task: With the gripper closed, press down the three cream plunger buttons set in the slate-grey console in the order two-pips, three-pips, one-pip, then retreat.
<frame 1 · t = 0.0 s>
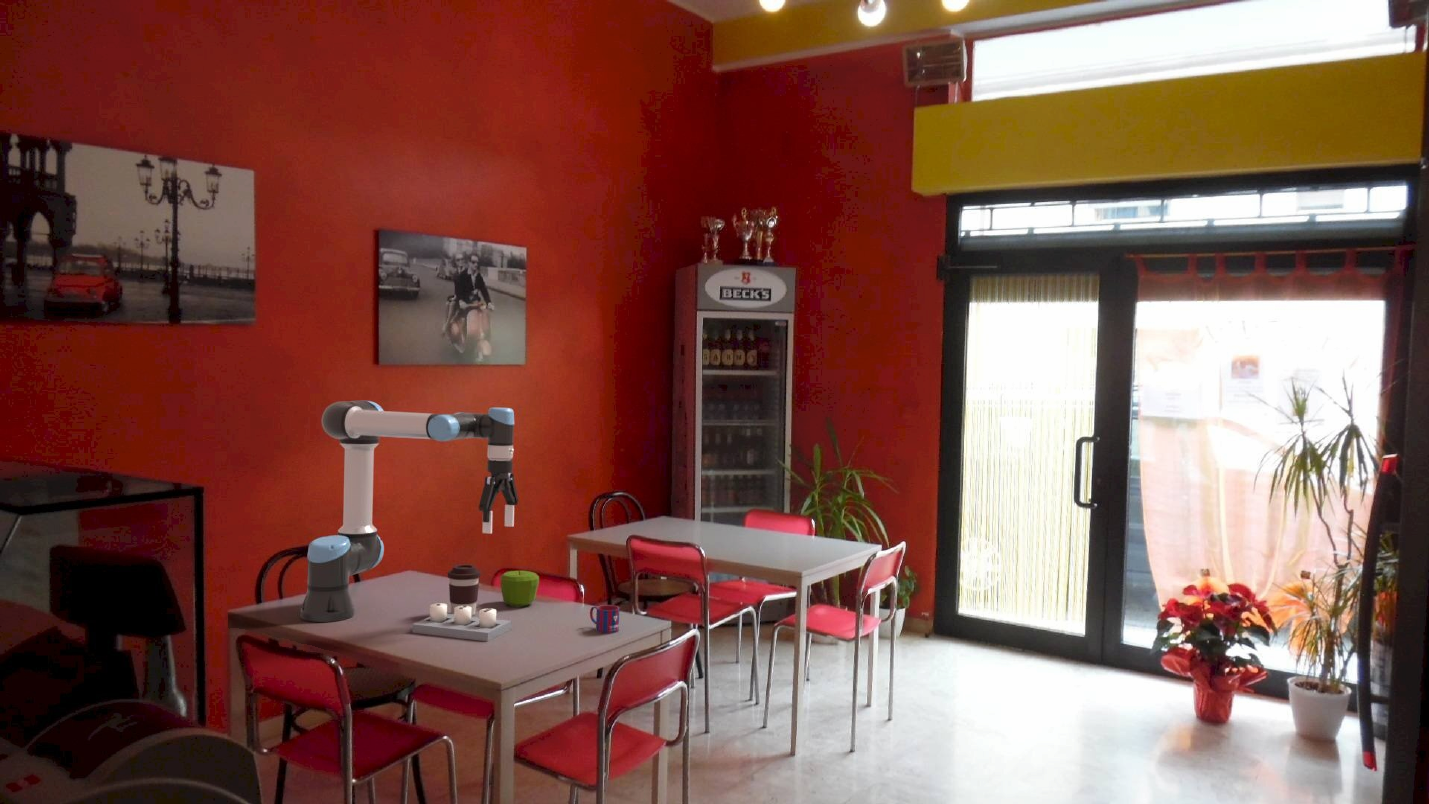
hand: (498, 529, 294), 28 cm above the table, fingers open, 13 cm apart
button 1: (438, 612, 286), point 5 cm above the table, slide at 0.0 cm
button 3: (487, 617, 282), point 5 cm above the table, slide at 0.0 cm
console: (462, 630, 284), on the table
coffee cup: (463, 615, 302), on the table
button 2: (462, 614, 284), point 5 cm above the table, slide at 0.0 cm
cup: (603, 630, 291), on the table
apple: (519, 605, 317), on the table
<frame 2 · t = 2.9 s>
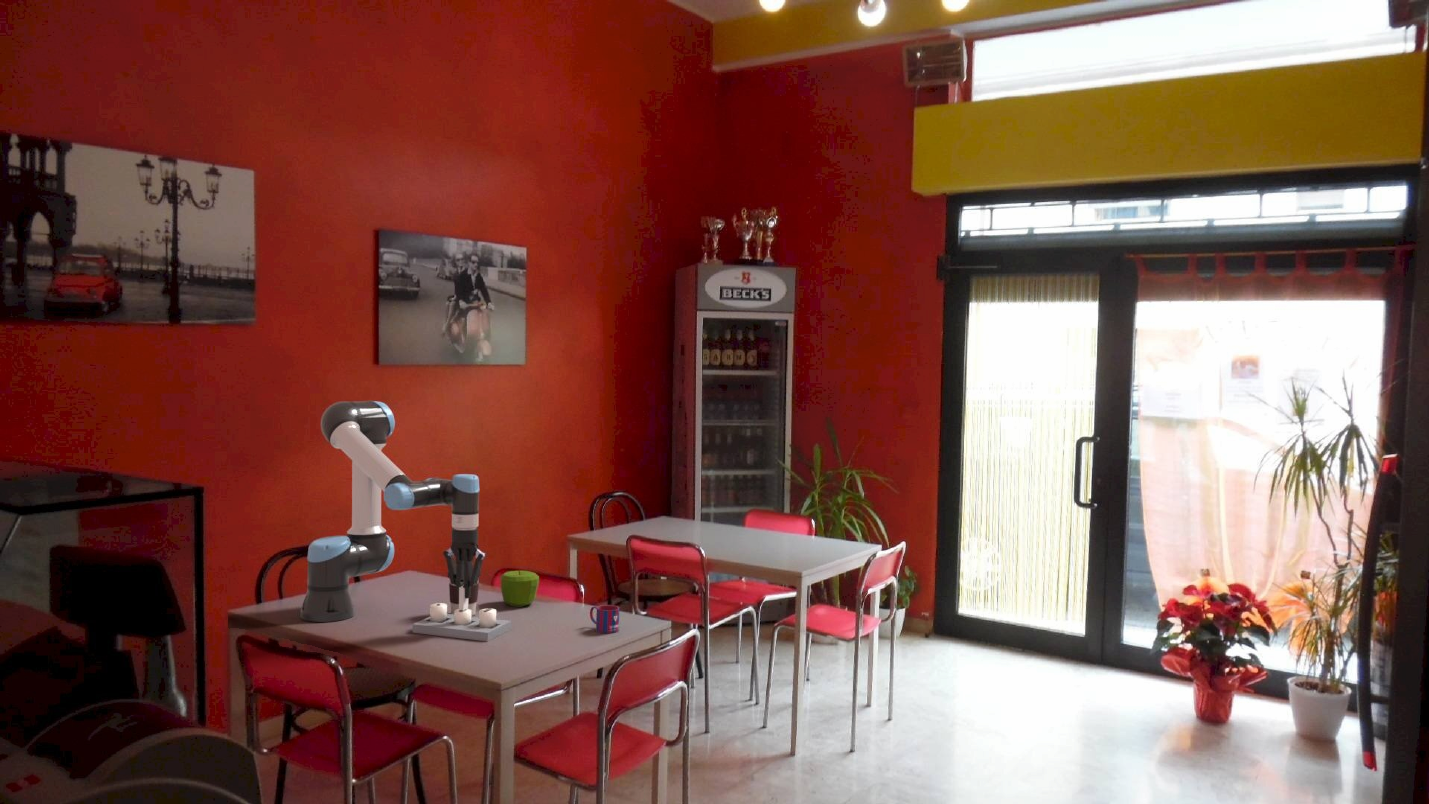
hand: (463, 608, 283), 6 cm above the table, fingers closed
button 2: (462, 617, 284), point 4 cm above the table, slide at 0.8 cm, touching gripper
everything else where it was.
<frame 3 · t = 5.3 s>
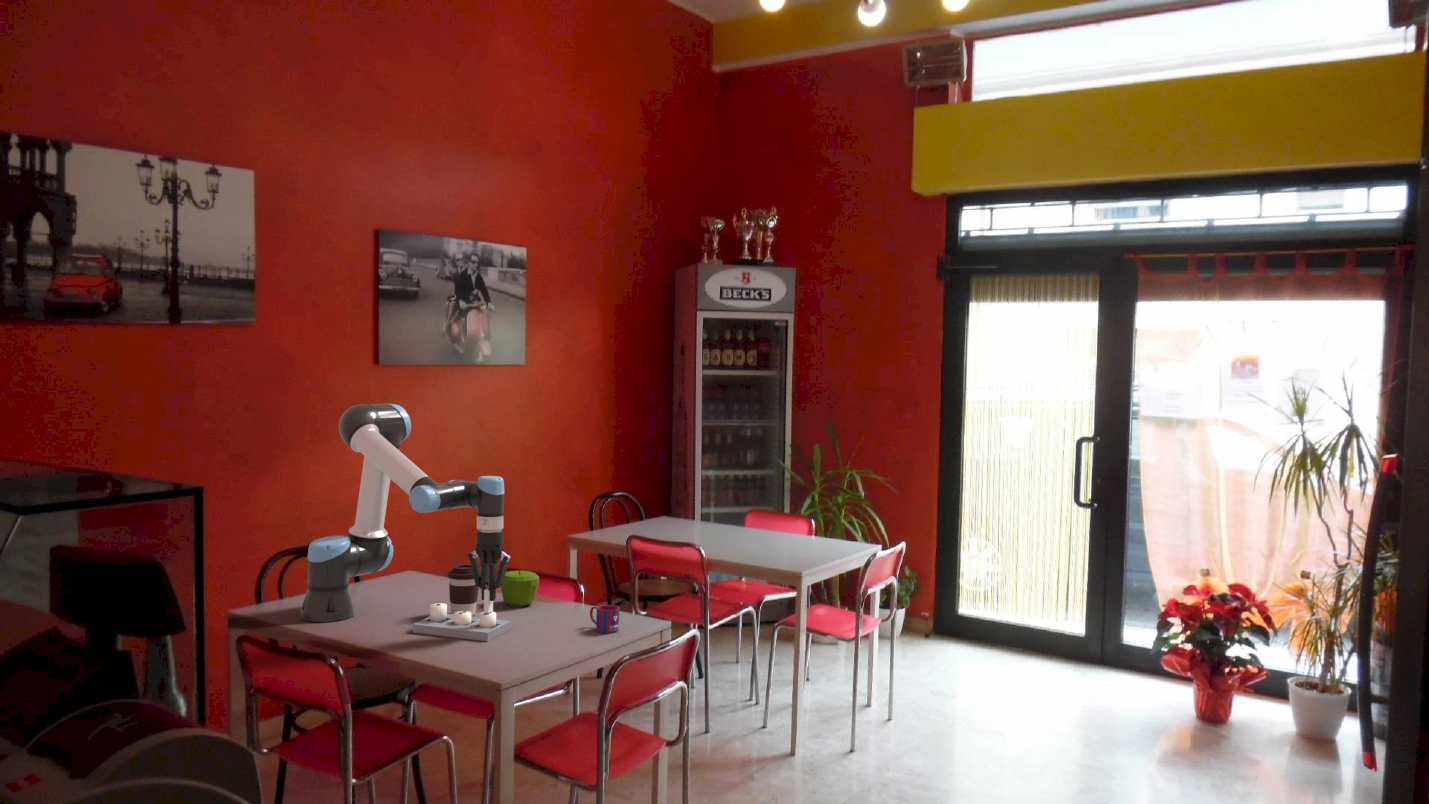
hand: (488, 611, 281), 6 cm above the table, fingers closed
button 3: (487, 620, 282), point 4 cm above the table, slide at 0.9 cm, touching gripper
button 2: (462, 620, 284), point 3 cm above the table, slide at 1.5 cm
everything else where it was.
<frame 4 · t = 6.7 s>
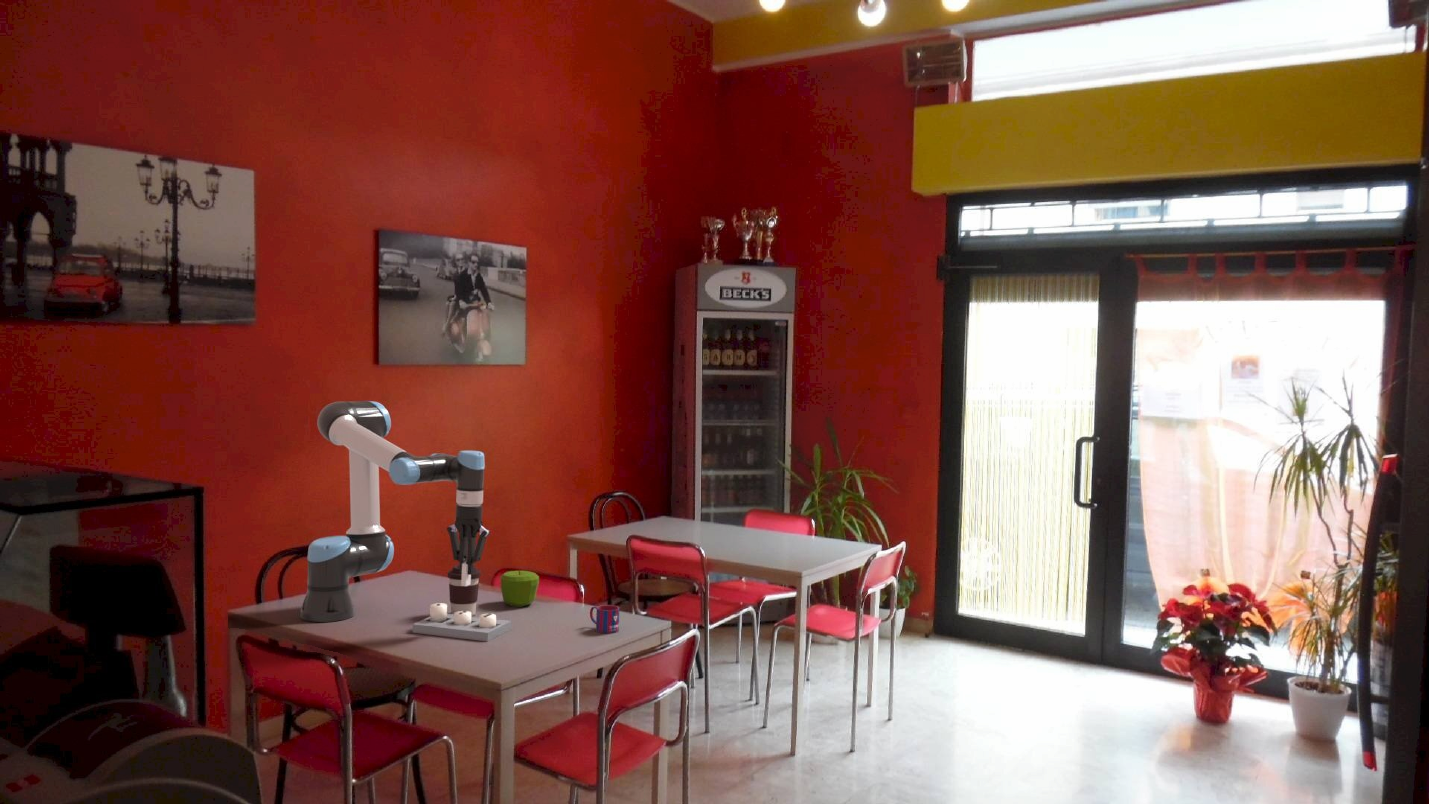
hand: (465, 585, 283), 13 cm above the table, fingers closed
button 3: (487, 622, 282), point 3 cm above the table, slide at 1.5 cm
everything else where it was.
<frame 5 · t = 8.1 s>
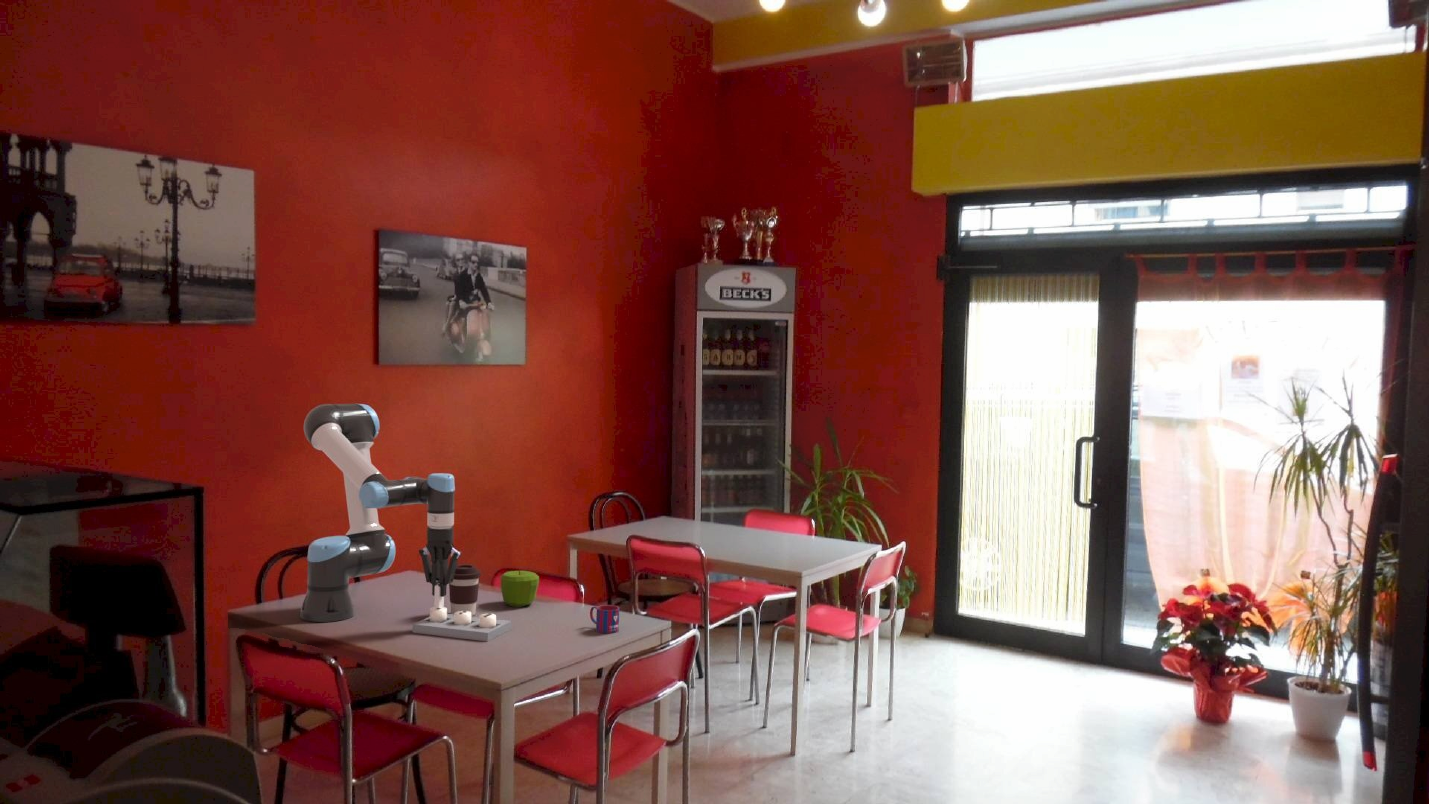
hand: (439, 607, 286), 6 cm above the table, fingers closed
button 1: (438, 615, 286), point 4 cm above the table, slide at 1.1 cm, touching gripper
everything else where it was.
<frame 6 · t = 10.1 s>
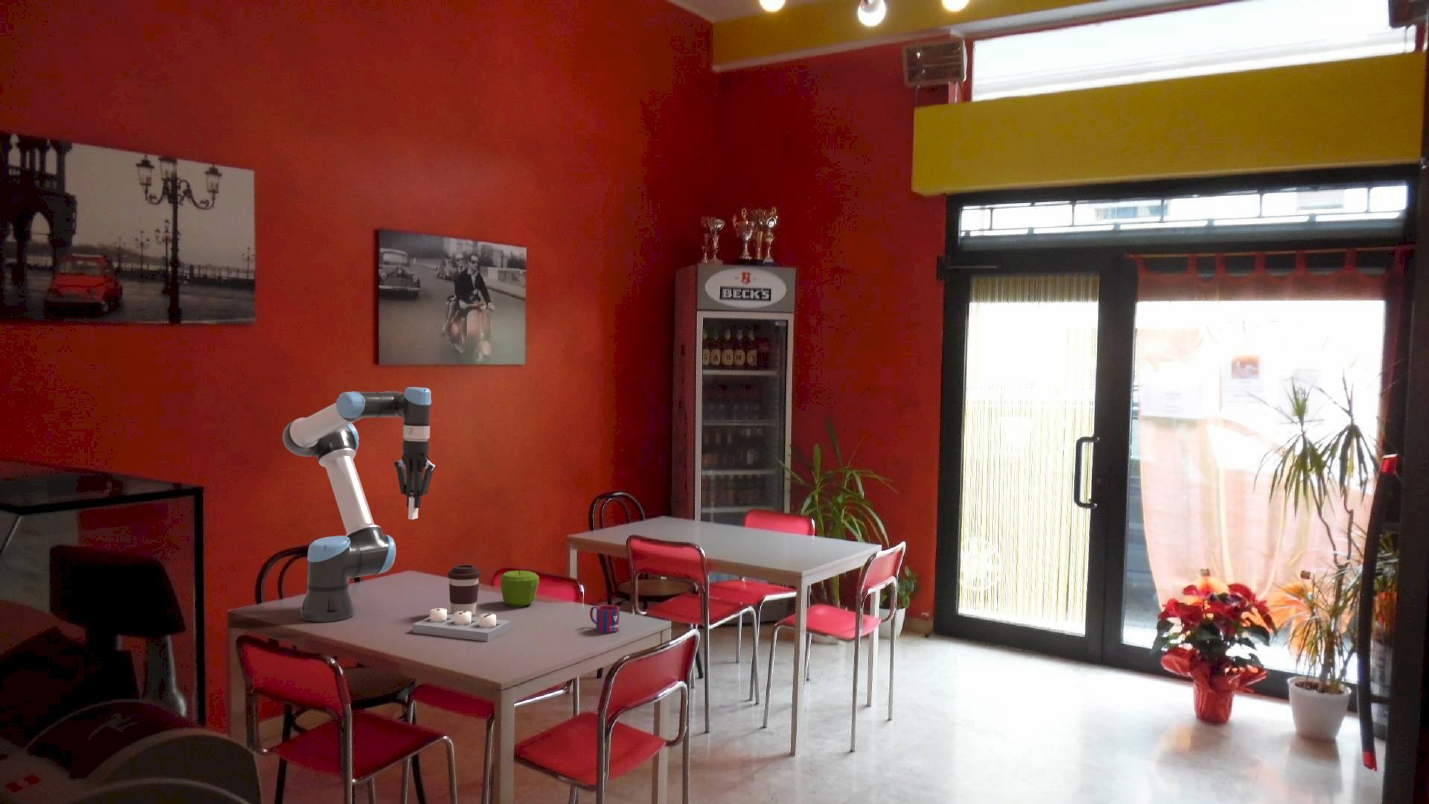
hand: (413, 518, 290), 31 cm above the table, fingers closed
button 1: (438, 617, 286), point 3 cm above the table, slide at 1.5 cm
everything else where it was.
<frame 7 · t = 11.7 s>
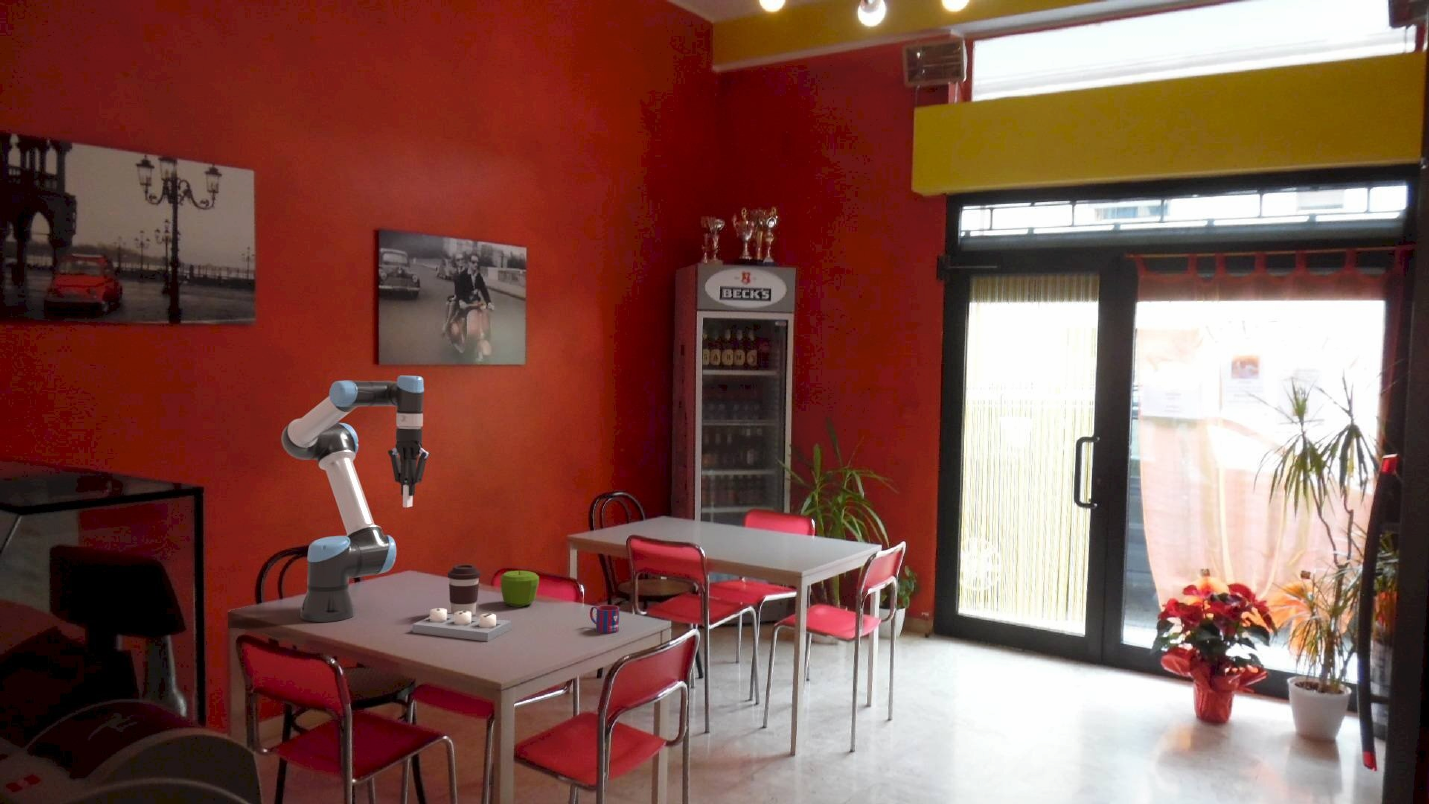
hand: (407, 506, 291), 34 cm above the table, fingers closed
nothing on the table moved.
at the end: button 2 slide at 1.5 cm; button 3 slide at 1.5 cm; button 1 slide at 1.5 cm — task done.
